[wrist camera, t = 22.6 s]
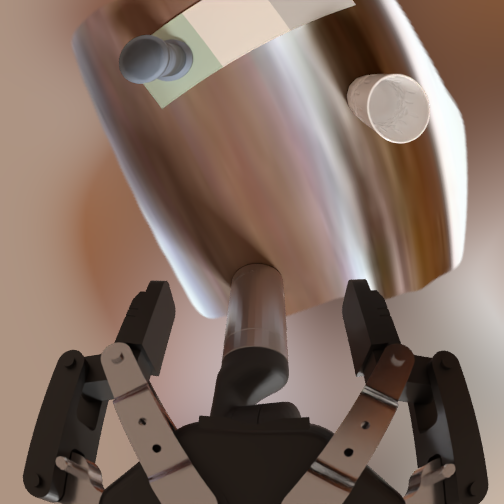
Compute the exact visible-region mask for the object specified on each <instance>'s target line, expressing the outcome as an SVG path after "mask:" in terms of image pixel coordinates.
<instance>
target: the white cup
mask: <svg viewBox="0 0 504 504" xmlns="http://www.w3.org/2000/svg"><path fill="white" fill-rule="evenodd" d="M347 100H348V105H349V107H350V109H351V110H352V112H353V113H354V115H356V116H357V117H358V118H359V119H360V120H361V121H363V122H364V123H365V124H366V125H367V126H368V127H370V128H371V129H372V130H374V131H375V132H376V133H378V134H379V135H380V136H381V137H383V138H384V139H386V140H388V141H390V142H394V143H407V142H410V141H412V140H414V139H416V138H417V137H419V136H420V135H421V134H422V133H423V131H424V130H425V128H426V126H427V124H428V121H429V117H430V105H429V100H428V97H427V95H426V93H425V91H424V89H423V88H422V87H421V86H420V84H419V83H417V82H416V81H415V80H414V79H412V78H410V77H408V76H406V75H402V74H372V75H365V76H362V77H359V78H356V79H355V80H354V81H353V82H352V83H351V84H350V86H349V89H348V93H347Z"/></svg>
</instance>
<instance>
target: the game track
mask: <svg viewBox="0 0 504 504" xmlns="http://www.w3.org/2000/svg"><path fill="white" fill-rule="evenodd" d="M354 5H355V3H354V2H353V0H202V1H200V2H198V3H197V4H195V5H194V6H192V7H190V8H189V9H187V10H186V11H184V12H183V13H181V14H180V15H178V16H177V17H175V18H174V19H173V20H171V21H170V22H168V23H167V24H165V25H164V26H163V27H161V28H160V29H159V30H157V31H156V32H155V33H153V34H152V36H156V37H158V38H160V39H162V40H163V41H165V40H170V39H175V40H179V41H182V42H184V43H186V44H187V45H188V46H189V47H190V49H191V50H192V53H193V64H192V66H191V68H190V70H189V71H188V73H187V74H186V75H185V76H183V77H182V78H180V79H178V80H174V81H162V80H159V79H156V80H154V81H151V82H148V83H143V84H144V86H145V87H146V88H147V90H148V91H149V92H150V94H151V95H152V96H153V98H154V99H155V100H156V102H157V103H158V104H159V106H160V107H161V108H162V109H163V108H164V107H166V106H167V105H168V104H170V103H171V102H172V101H174V100H175V99H176V98H178V97H179V96H180V95H182V94H183V93H185V92H186V91H187V90H189V89H190V88H192V87H193V86H195V85H196V84H198V83H199V82H201V81H202V80H204V79H205V78H207V77H208V76H210V75H211V74H213V73H214V72H216V71H218V70H219V69H221V68H222V67H224V66H226V65H227V64H229V63H231V62H232V61H234V60H236V59H237V58H239V57H241V56H243V55H244V54H246V53H248V52H250V51H252V50H253V49H255V48H257V47H259V46H261V45H263V44H265V43H267V42H269V41H271V40H273V39H275V38H277V37H279V36H281V35H283V34H285V33H287V32H289V31H291V30H293V29H296V28H298V27H300V26H302V25H305V24H307V23H309V22H312V21H314V20H316V19H319V18H321V17H324V16H326V15H329V14H332V13H334V12H337V11H340V10H343V9H345V8H348V7H351V6H354Z"/></svg>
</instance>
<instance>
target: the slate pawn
mask: <svg viewBox="0 0 504 504" xmlns="http://www.w3.org/2000/svg"><path fill="white" fill-rule="evenodd" d="M192 64H193V53H192V50H191V49H190V47H189V46H188V45H187V44H186V43H184V42H182V41H179V40H175V39H170V40H165V41H163V40H162V39H160V38H158V37H156V36H152V35H142V36H138V37H136V38H134V39H132V40H131V41H129V42H128V43H127V44H126V45H125V47H124V48H123V50H122V52H121V54H120V58H119V68H120V71H121V73H122V75H123V76H124V77H125V78H126V79H127V80H129V81H130V82H133V83H138V84H142V83H148V82H151V81H154V80H156V79H159V80H162V81H174V80H178V79H180V78H182V77H183V76H185V75H186V74H187V73H188V71H189V70H190V68H191V66H192Z"/></svg>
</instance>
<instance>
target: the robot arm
mask: <svg viewBox="0 0 504 504" xmlns="http://www.w3.org/2000/svg"><path fill="white" fill-rule="evenodd" d="M342 314H343V320H344V324H345V328H346V332H347V336H348V341H349V346H350V350H351V355H352V359H353V364H354V369H355V374H356V377H358V376H364V378H365V383H366V385H365V386H364V388H363V390H362V391H361V393H360V395H359V396H358V398H357V400H356V401H355V403H354V405H353V406H352V408H351V410H350V411H349V413H348V414H347V416H346V417H345V419H344V420H343V422H342V423H341V425H340V427H339V428H338V429H337V431H336V432H335V434H334V433H333V432H331V431H330V430H328V429H326V428H324V427H321V426H318V425H315V424H310V422H309V417H303V418H301V416H300V413H299V411H298V409H297V407H296V406H295V405H294V404H292V403H290V402H279V403H278V402H277V403H267V404H258V405H255V404H256V403H258V402H259V401H260V400H262V399H264V398H266V397H267V396H269V395H271V394H273V393H275V392H277V391H279V390H280V389H281V388H283V387H284V385H285V384H286V383H287V380H288V376H289V368H288V349H287V333H286V332H287V327H286V312H285V297H284V287H283V279H282V276H281V275H280V273H279V272H278V271H277V270H276V269H274V268H272V267H270V266H268V265H264V264H251V265H247V266H244V267H242V268H241V269H239V270H238V271H237V272H236V273H235V274H234V276H233V279H232V285H231V292H230V300H229V307H228V316H227V324H226V332H225V340H224V349H223V358H222V366H221V369H220V371H219V373H218V376H217V380H216V386H215V392H214V397H213V403H212V408H211V413H210V416H199V422H195V423H191V424H188V425H185V426H183V427H181V428H179V429H177V428H176V426H175V425H174V423H173V422H172V420H171V419H170V417H169V415H168V414H167V412H166V410H165V408H164V407H163V405H162V403H161V401H160V400H159V398H158V396H157V394H156V392H155V390H154V388H153V386H152V385H151V383H150V381H149V379H150V376H151V375H153V376H159V374H160V370H161V366H162V362H163V358H164V354H165V350H166V347H167V343H168V340H169V336H170V332H171V329H172V325H173V322H174V318H175V304H174V301H173V297H172V294H171V290H170V287H169V283H168V282H167V281H150V283H149V285H148V287H147V290H146V292H140V293H139V294H138V295H137V296H136V297H135V298H134V299H133V300H132V303H131V305H130V307H129V310H128V312H127V314H126V317H125V319H124V321H123V323H122V326H121V328H120V331H119V333H118V335H117V338H116V340H115V343H113V344H111V345H109V346H108V347H106V348H105V349H104V351H103V352H102V354H100V355H94V356H87V357H84V356H83V355H82V354H81V353H80V352H79V351H77V350H70V351H67V352H65V353H64V354H63V355H62V356H61V357H60V358H59V360H58V362H57V365H56V368H55V370H54V372H53V375H52V378H51V380H50V383H49V386H48V389H47V392H46V394H45V397H44V400H43V403H42V406H41V409H40V412H39V415H38V419H37V422H36V426H35V429H34V432H33V436H32V440H31V443H30V447H29V451H28V455H27V460H26V464H25V469H24V474H23V482H24V485H25V488H26V489H27V491H28V492H29V493H30V494H31V495H33V496H35V497H37V498H40V499H43V500H46V501H49V502H52V503H55V504H479V503H480V502H481V501H482V500H483V498H484V497H485V495H486V493H487V490H488V477H487V470H486V465H485V458H484V453H483V447H482V442H481V437H480V433H479V429H478V424H477V420H476V416H475V412H474V409H473V405H472V402H471V398H470V394H469V391H468V388H467V384H466V381H465V378H464V375H463V372H462V369H461V366H460V364H459V361H458V359H457V358H456V356H455V355H454V354H452V353H450V352H448V351H439V352H437V353H436V354H435V355H434V356H433V358H429V357H422V356H417V355H414V354H413V353H412V351H411V350H410V349H409V348H408V347H407V346H405V345H402V344H401V342H400V340H399V337H398V334H397V331H396V329H395V326H394V323H393V320H392V318H391V316H390V313H389V310H388V309H387V305H386V302H385V300H384V298H383V297H382V296H381V295H380V294H379V292H378V291H377V290H373V291H371V290H370V288H369V285H368V282H367V280H366V279H358V280H349V281H348V285H347V289H346V293H345V297H344V302H343V307H342ZM111 399H115V400H114V401H113V404H114V407H115V410H116V412H117V414H118V417H119V419H120V422H121V424H122V426H123V428H124V431H125V433H126V435H127V437H128V439H129V441H130V443H131V445H132V447H133V449H134V451H135V453H136V455H137V457H138V459H139V462H138V463H137V464H136V465H134V466H133V467H132V468H131V469H130V470H128V471H127V472H126V473H125V474H124V475H122V476H121V477H120V478H118V479H117V480H116V481H115V482H113V483H112V484H111V485H110V486H108V487H107V488H106V489H104V488H103V485H102V475H101V471H100V469H99V468H98V466H97V465H96V464H95V461H96V455H97V450H98V445H99V440H100V435H101V430H102V425H103V421H104V417H105V413H106V409H107V405H108V401H109V400H111ZM398 401H403V402H408V406H409V411H410V416H411V422H412V428H413V435H414V441H415V448H416V456H417V465H418V469H417V470H415V471H414V473H413V474H412V475H411V477H410V479H409V486H408V491H407V493H406V495H405V496H404V497H402V496H401V495H400V494H399V493H398V492H397V491H396V490H395V489H394V488H392V487H391V486H390V485H389V484H388V483H387V482H385V480H383V479H382V478H381V477H380V476H379V475H378V474H377V473H376V472H374V471H373V470H372V469H371V468H370V467H369V466H368V465H367V463H368V462H369V460H370V458H371V457H372V455H373V453H374V452H375V450H376V448H377V446H378V445H379V443H380V441H381V439H382V437H383V436H384V434H385V432H386V430H387V428H388V426H389V424H390V422H391V420H392V418H393V416H394V414H395V412H396V410H397V408H398Z"/></svg>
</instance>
